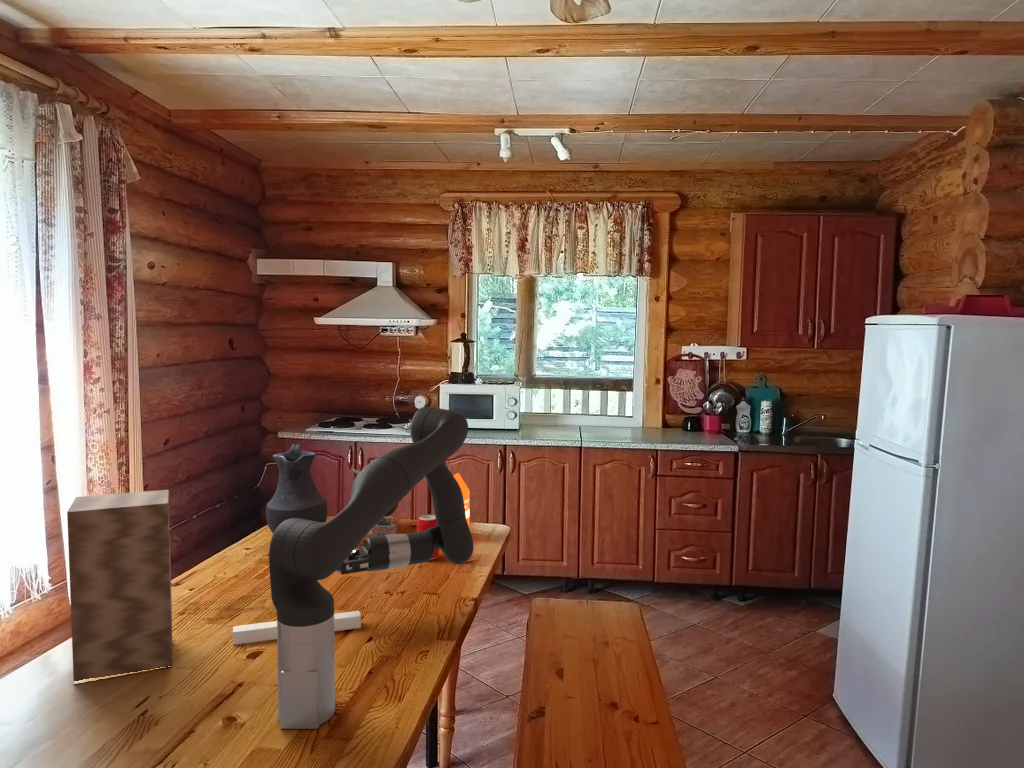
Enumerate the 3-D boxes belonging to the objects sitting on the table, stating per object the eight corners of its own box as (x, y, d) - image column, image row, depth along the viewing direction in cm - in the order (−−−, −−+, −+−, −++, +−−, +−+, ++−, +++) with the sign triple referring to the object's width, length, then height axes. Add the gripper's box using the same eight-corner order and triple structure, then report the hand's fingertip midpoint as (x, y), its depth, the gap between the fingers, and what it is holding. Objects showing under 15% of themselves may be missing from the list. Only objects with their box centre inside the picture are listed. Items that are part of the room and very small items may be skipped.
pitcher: (264, 559, 193) (262, 454, 190) (269, 538, 213) (268, 442, 210) (327, 555, 197) (327, 452, 195) (327, 534, 217) (326, 440, 215)
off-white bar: (359, 623, 152) (358, 610, 152) (360, 629, 150) (360, 615, 149) (233, 640, 143) (233, 626, 143) (232, 646, 141) (232, 632, 140)
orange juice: (469, 534, 219) (470, 473, 217) (460, 542, 210) (460, 478, 209) (446, 532, 221) (447, 471, 219) (436, 540, 212) (437, 476, 211)
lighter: (368, 549, 203) (368, 516, 202) (374, 545, 206) (374, 513, 205) (393, 552, 201) (393, 518, 200) (398, 548, 204) (398, 515, 203)
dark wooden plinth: (172, 641, 142) (168, 489, 139) (172, 667, 131) (167, 503, 129) (82, 656, 135) (76, 497, 132) (73, 685, 124) (67, 512, 122)
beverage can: (434, 562, 192) (434, 520, 191) (413, 560, 193) (413, 519, 192) (441, 555, 198) (441, 514, 197) (421, 553, 199) (421, 513, 198)
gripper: (378, 527, 161) (307, 535, 153) (395, 544, 148) (319, 554, 141) (378, 558, 161) (307, 568, 154) (395, 578, 148) (319, 589, 141)
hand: (313, 561), depth 147 cm, fingers open, 8 cm apart
